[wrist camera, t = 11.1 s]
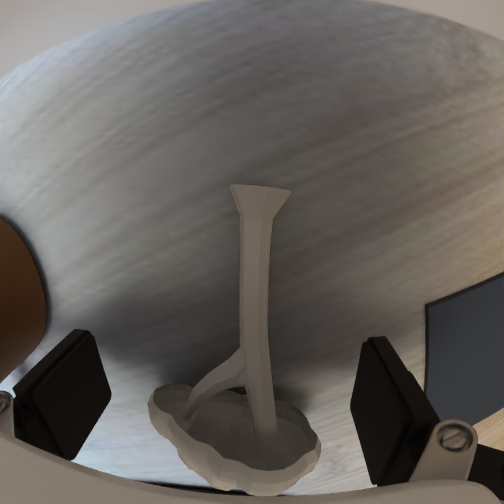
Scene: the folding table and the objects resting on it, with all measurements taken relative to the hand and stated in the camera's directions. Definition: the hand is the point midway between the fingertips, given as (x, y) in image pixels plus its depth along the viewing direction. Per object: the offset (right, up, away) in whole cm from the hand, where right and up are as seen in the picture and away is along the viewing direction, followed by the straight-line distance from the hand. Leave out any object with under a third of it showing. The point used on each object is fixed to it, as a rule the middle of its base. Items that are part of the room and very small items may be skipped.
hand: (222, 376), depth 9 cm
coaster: (+14, -1, +2) cm, 14 cm away
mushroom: (+1, +1, +2) cm, 2 cm away
